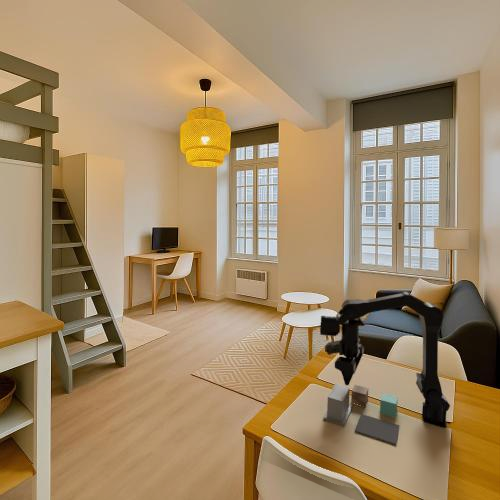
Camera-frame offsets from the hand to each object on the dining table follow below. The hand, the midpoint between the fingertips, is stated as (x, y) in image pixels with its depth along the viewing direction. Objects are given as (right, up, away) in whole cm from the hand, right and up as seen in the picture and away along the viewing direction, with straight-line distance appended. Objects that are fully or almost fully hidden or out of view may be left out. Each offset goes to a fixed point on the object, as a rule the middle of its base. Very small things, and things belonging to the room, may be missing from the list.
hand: (349, 379), depth 113 cm
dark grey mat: (+5, -12, -11) cm, 17 cm away
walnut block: (+5, -10, +4) cm, 12 cm away
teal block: (+13, -11, -1) cm, 17 cm away
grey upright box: (-5, -11, -3) cm, 12 cm away
